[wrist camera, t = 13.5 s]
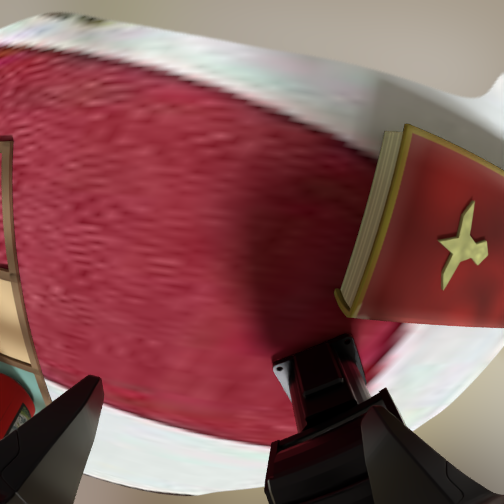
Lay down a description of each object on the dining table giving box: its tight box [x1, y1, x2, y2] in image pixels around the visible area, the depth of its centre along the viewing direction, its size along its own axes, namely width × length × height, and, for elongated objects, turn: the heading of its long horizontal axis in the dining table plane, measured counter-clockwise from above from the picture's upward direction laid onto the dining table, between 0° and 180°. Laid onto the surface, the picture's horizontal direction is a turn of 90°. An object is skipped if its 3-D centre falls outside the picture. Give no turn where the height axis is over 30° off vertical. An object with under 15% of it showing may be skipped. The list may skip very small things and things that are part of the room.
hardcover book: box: [334, 124, 504, 328], centre depth 19 cm, size 12×21×4 cm, turn 79°
